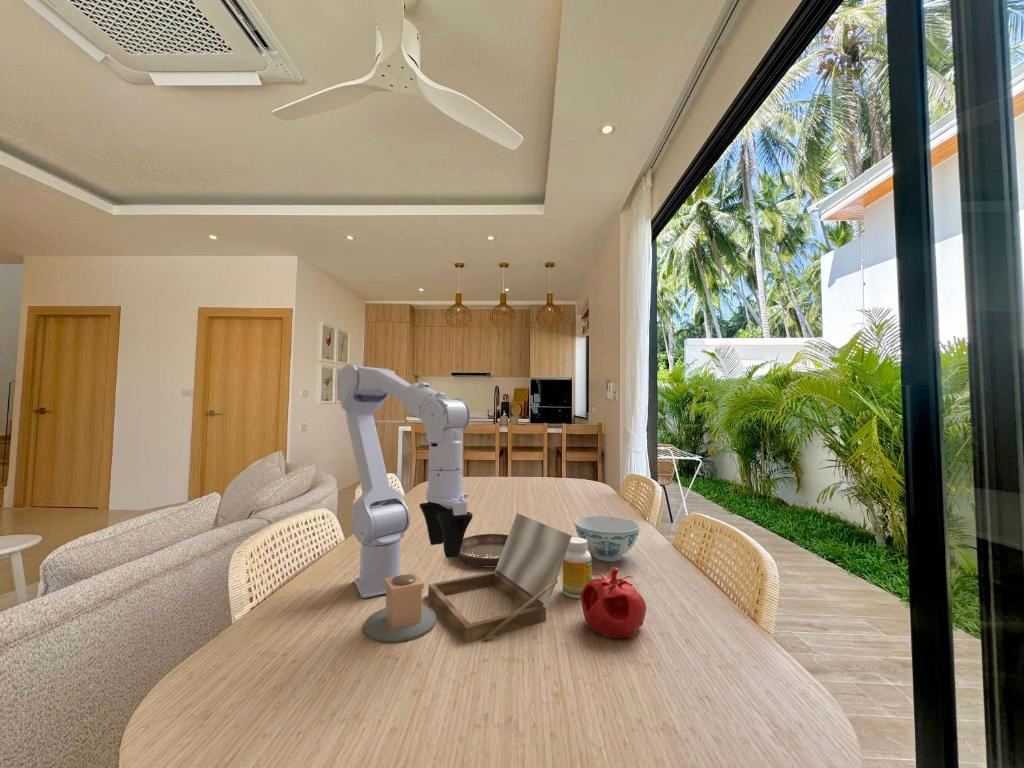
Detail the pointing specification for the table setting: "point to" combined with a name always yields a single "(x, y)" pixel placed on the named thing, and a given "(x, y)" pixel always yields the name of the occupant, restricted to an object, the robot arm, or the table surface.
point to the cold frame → (512, 579)
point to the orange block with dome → (403, 600)
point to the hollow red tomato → (613, 606)
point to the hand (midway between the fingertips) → (444, 550)
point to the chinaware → (607, 535)
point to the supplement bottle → (576, 567)
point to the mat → (383, 632)
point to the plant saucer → (483, 549)
